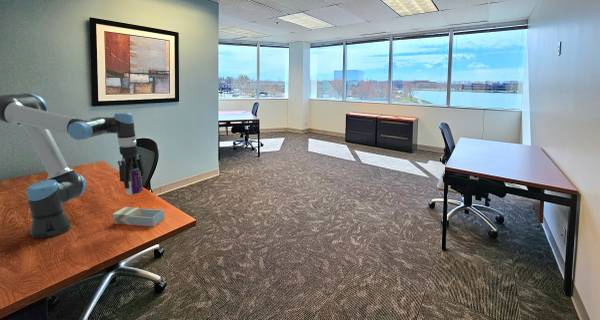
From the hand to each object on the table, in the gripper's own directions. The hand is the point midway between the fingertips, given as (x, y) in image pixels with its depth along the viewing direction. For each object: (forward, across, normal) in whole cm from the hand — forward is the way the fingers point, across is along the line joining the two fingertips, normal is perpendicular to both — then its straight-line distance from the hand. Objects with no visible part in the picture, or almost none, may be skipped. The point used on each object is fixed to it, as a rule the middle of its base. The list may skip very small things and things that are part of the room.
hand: (134, 191), depth 159 cm
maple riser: (+15, 0, +6) cm, 17 cm away
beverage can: (+1, 0, 0) cm, 1 cm away
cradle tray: (+15, 0, -5) cm, 16 cm away
